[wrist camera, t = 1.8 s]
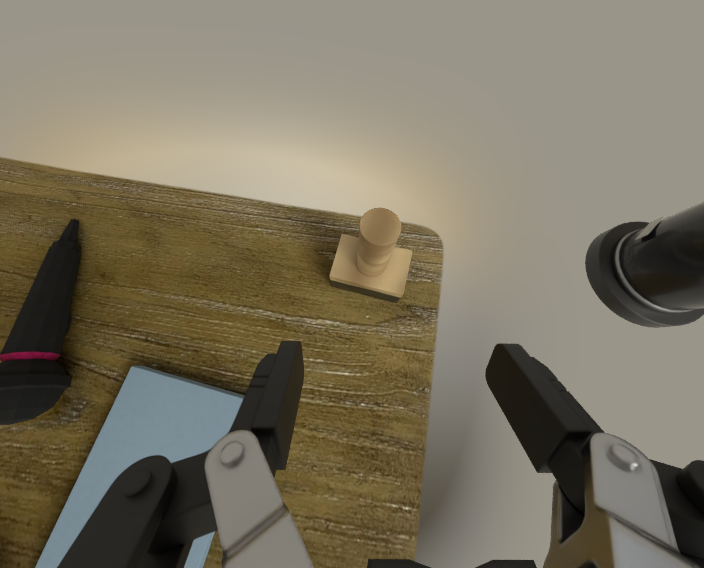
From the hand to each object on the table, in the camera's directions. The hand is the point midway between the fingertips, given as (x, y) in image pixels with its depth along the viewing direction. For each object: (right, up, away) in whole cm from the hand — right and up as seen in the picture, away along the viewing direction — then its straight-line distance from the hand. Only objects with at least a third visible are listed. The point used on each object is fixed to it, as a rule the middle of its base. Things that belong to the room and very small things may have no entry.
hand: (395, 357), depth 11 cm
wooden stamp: (0, +4, +16) cm, 17 cm away
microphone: (-30, 0, +15) cm, 34 cm away
